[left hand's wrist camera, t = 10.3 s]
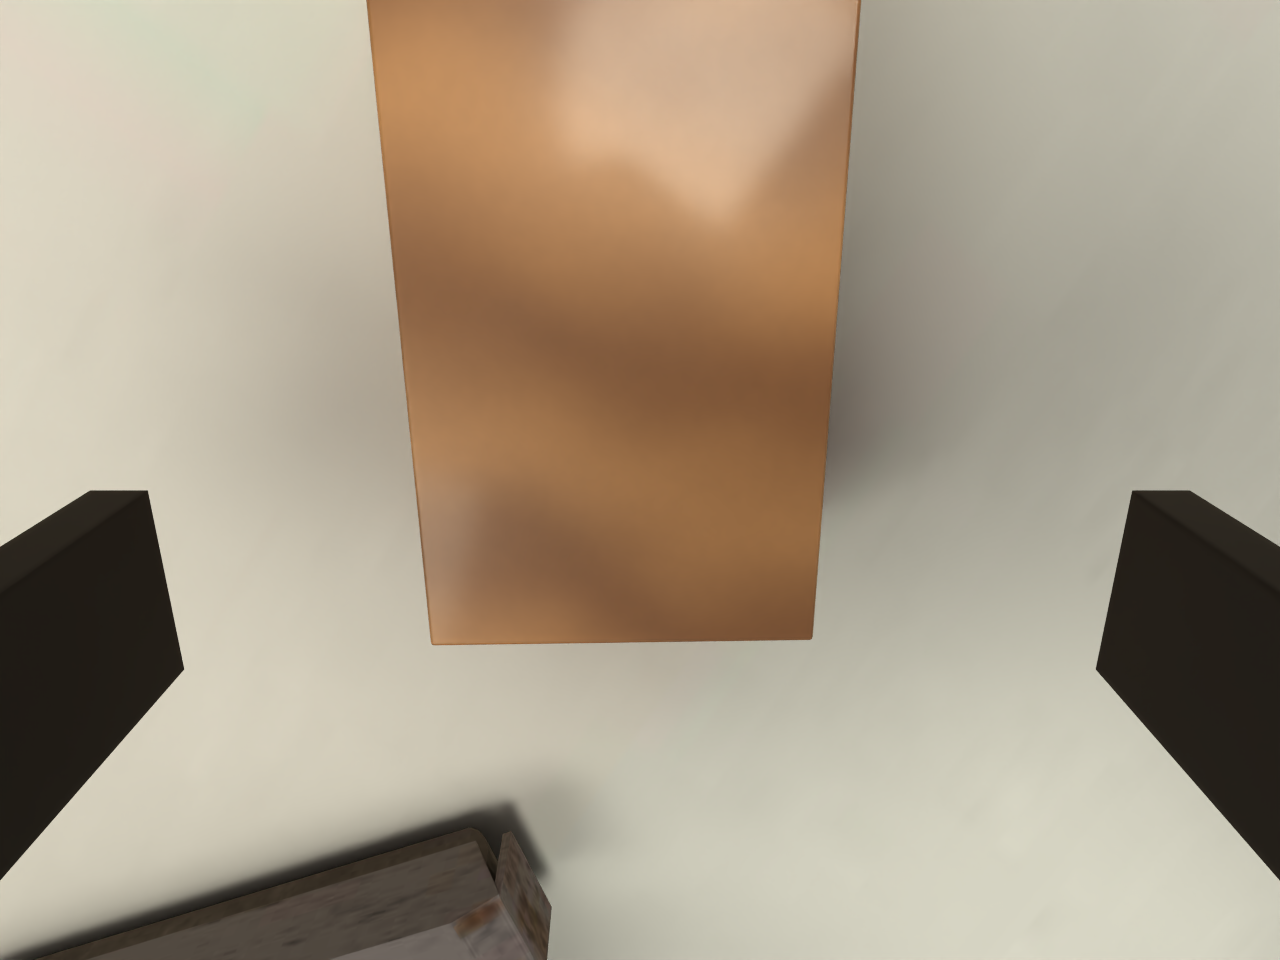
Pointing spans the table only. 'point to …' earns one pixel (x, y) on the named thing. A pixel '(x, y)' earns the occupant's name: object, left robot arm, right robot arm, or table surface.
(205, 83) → the table surface
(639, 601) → the thick board
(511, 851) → the toy
